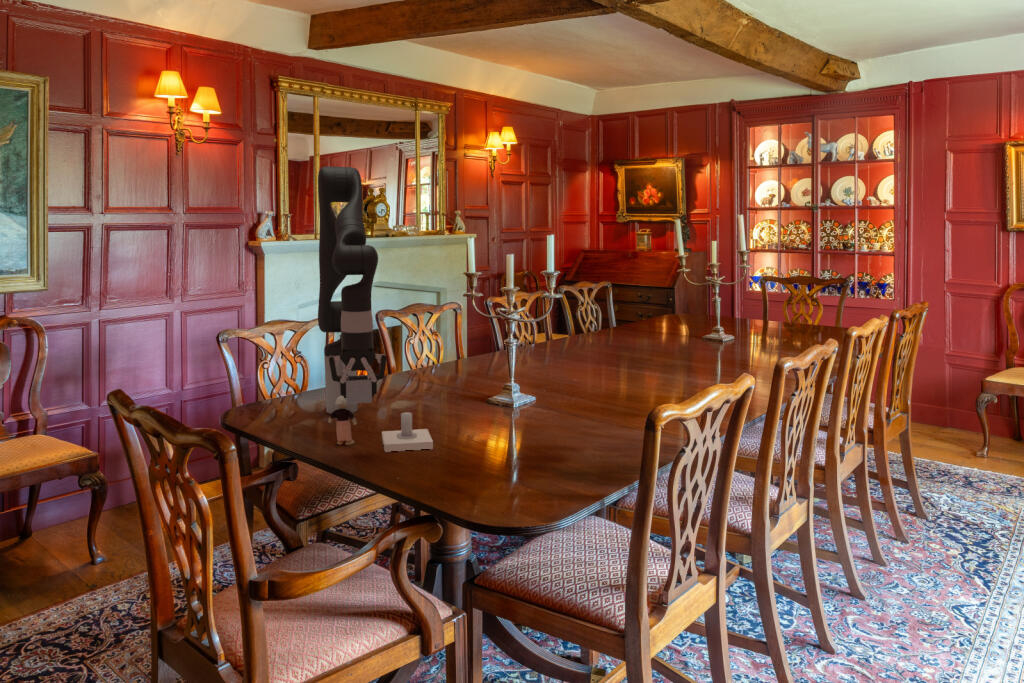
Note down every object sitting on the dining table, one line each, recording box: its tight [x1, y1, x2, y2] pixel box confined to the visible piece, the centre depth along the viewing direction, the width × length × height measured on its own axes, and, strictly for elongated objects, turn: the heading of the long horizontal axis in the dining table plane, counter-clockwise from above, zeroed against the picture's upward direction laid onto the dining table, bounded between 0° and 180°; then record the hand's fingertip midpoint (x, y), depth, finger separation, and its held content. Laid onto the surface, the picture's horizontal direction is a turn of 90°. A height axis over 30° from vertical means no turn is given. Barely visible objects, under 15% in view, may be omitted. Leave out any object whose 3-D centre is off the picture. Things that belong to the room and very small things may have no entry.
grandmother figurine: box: [327, 396, 358, 446], centre depth 194 cm, size 8×4×13 cm, turn 92°
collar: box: [346, 374, 373, 404], centre depth 184 cm, size 6×6×6 cm
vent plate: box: [381, 411, 434, 453], centre depth 194 cm, size 12×12×8 cm
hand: (358, 396), depth 184 cm, fingers closed on collar, 6 cm apart
